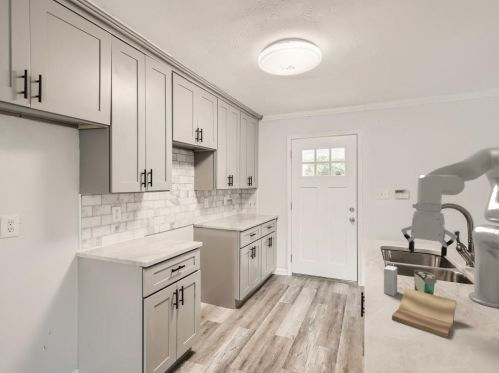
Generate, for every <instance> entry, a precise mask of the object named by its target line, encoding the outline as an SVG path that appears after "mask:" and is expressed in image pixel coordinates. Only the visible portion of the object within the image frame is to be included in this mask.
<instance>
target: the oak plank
mask: <svg viewBox="0 0 499 373" xmlns="http://www.w3.org/2000/svg"><path fill="white" fill-rule="evenodd" d="M398 308H399V309H402V310H406V311H409V312H412V313H416V314H419V315H422V316H425V317H429V318H432V319H435V320H439V321H442V322H445V323H449V324H452V327H453V326H454V320H455V315H456V308H457V300H455V299H452V298H447V297H443V296H440V295H436V294H433V295H432V294H428V293H424V292H420V291H416V290H415V289H412V288H407V287H405V288H404V292H403V295H402V298H401V301H400V303H399V306H398Z"/></svg>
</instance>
